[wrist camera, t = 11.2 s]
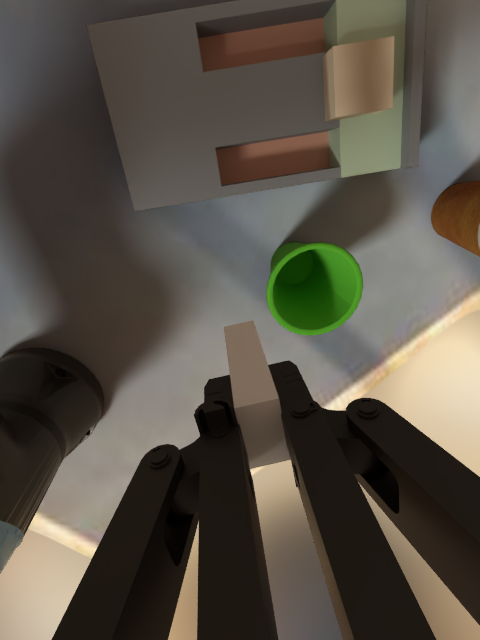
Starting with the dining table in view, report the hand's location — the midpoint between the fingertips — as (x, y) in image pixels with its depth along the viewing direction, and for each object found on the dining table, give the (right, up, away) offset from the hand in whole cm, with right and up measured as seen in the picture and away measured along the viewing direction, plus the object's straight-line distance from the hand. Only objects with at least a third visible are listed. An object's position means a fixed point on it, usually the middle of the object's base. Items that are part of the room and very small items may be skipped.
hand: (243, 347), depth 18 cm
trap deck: (+2, +23, +18) cm, 29 cm away
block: (+10, +23, +14) cm, 28 cm away
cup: (+6, +8, +24) cm, 26 cm away
